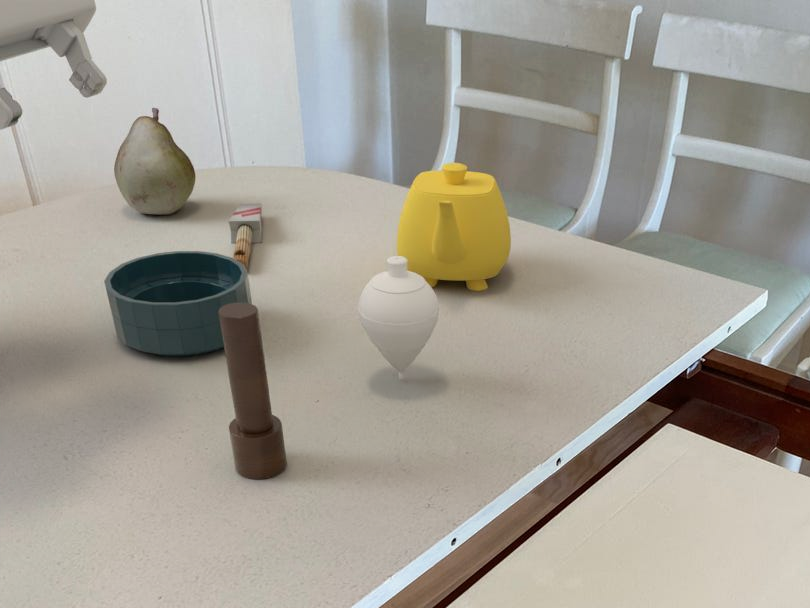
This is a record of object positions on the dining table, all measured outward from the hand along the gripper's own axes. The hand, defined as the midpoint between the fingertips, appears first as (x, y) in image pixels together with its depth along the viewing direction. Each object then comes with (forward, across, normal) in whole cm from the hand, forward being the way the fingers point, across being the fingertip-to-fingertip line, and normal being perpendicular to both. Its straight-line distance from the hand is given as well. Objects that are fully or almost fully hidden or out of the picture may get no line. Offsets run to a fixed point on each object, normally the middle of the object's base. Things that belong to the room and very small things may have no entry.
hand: (57, 105), depth 70 cm
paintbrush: (+9, -45, -30) cm, 55 cm away
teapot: (+29, -45, -9) cm, 54 cm away
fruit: (-2, -51, -42) cm, 66 cm away
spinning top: (+32, -19, -6) cm, 38 cm away
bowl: (+14, -20, -24) cm, 35 cm away
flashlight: (+28, 0, -9) cm, 30 cm away
